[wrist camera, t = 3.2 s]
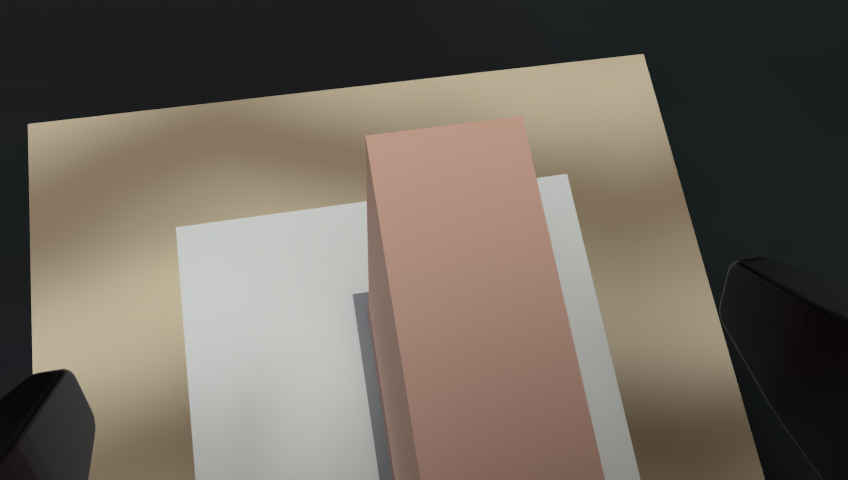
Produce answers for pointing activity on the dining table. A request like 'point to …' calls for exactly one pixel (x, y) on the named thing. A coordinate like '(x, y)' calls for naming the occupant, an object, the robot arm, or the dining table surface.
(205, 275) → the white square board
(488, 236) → the salmon pink flat block
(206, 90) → the dining table surface
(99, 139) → the base board
